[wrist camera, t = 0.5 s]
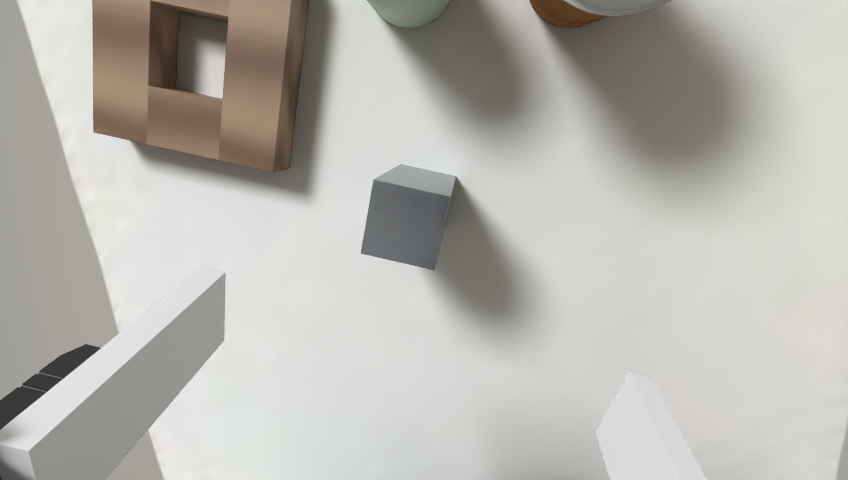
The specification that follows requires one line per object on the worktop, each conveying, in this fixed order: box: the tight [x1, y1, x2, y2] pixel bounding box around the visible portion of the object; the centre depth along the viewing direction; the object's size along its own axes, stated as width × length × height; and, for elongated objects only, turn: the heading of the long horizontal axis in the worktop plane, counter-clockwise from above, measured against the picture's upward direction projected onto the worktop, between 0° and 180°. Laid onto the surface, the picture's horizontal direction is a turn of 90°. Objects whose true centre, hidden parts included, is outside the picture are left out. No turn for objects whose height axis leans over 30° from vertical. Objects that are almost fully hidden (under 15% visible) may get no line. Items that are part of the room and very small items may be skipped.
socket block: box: [92, 0, 309, 172], centre depth 31 cm, size 14×14×3 cm
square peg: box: [361, 164, 456, 270], centre depth 29 cm, size 4×4×10 cm
